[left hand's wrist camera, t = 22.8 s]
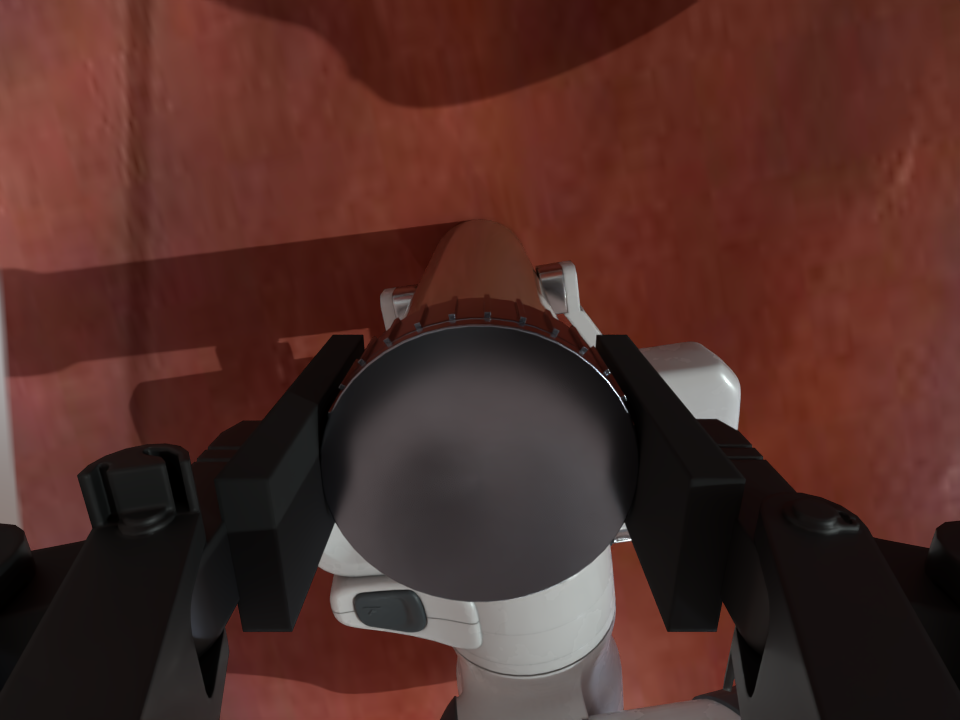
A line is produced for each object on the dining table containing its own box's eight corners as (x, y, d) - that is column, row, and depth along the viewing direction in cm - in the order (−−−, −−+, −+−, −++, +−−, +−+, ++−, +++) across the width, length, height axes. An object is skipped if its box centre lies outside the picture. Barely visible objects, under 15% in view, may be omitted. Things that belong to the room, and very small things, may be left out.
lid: (299, 482, 12) (269, 538, 10) (409, 240, 10) (394, 256, 9) (534, 579, 13) (543, 644, 11) (674, 371, 11) (710, 410, 10)
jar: (496, 331, 30) (522, 594, 12) (415, 285, 29) (309, 496, 11) (546, 250, 28) (660, 412, 10) (461, 200, 27) (426, 283, 10)
